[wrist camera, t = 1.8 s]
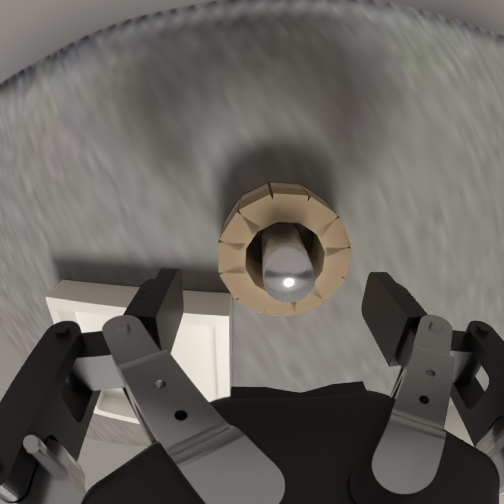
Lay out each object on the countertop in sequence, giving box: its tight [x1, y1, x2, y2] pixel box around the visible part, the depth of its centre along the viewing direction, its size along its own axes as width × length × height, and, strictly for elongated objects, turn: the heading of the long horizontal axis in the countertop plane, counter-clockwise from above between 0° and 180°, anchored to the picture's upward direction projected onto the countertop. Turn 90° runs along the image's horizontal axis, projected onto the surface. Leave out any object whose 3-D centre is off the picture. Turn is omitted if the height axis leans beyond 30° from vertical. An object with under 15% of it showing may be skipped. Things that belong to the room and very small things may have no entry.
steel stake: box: [261, 222, 315, 303], centre depth 15 cm, size 2×2×5 cm
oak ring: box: [218, 183, 351, 316], centre depth 16 cm, size 6×6×3 cm
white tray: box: [45, 280, 232, 424], centre depth 20 cm, size 13×13×2 cm
